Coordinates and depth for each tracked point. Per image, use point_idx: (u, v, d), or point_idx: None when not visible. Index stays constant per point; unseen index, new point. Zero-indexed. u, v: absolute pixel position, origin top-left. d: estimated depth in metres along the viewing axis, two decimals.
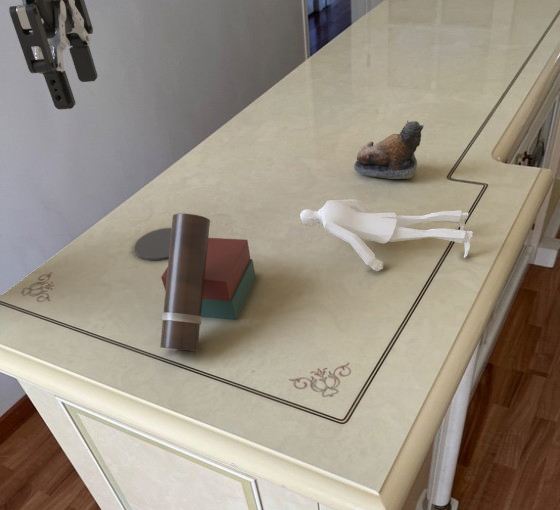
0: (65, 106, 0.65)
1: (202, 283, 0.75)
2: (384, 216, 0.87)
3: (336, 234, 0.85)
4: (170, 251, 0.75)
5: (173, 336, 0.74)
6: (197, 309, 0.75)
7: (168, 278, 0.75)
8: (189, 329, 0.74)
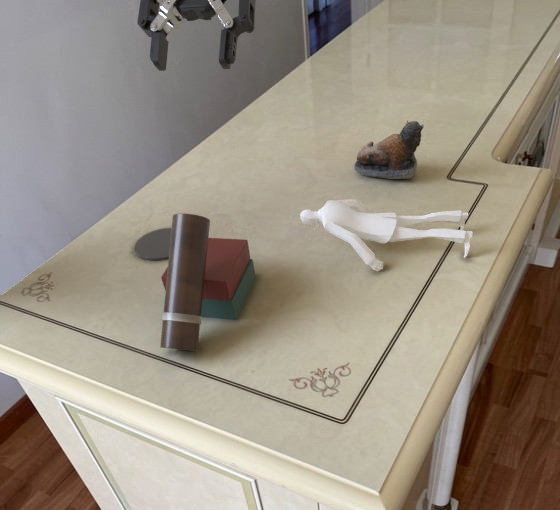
0: (227, 64, 0.70)
1: (202, 283, 0.75)
2: (384, 216, 0.87)
3: (336, 234, 0.85)
4: (170, 251, 0.75)
5: (173, 336, 0.74)
6: (197, 309, 0.75)
7: (168, 278, 0.75)
8: (189, 329, 0.74)
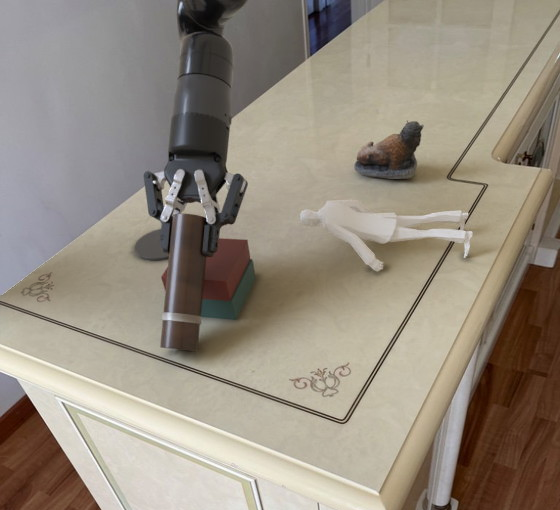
0: (210, 254, 0.75)
1: (202, 283, 0.75)
2: (384, 216, 0.87)
3: (336, 234, 0.85)
4: (170, 251, 0.75)
5: (173, 336, 0.74)
6: (197, 309, 0.75)
7: (168, 278, 0.75)
8: (189, 329, 0.74)
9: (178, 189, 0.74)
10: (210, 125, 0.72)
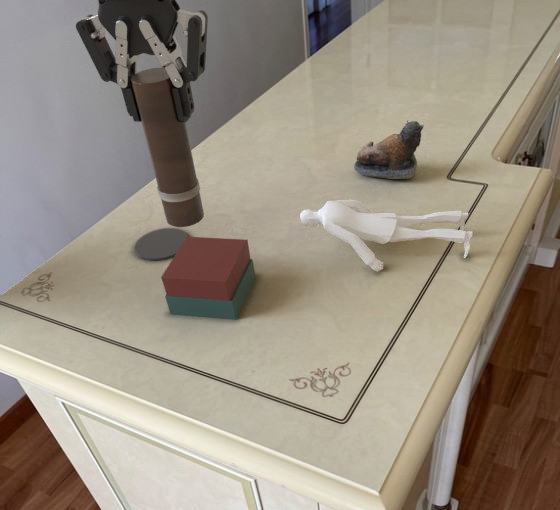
0: (188, 116, 0.65)
1: (189, 150, 0.68)
2: (384, 216, 0.87)
3: (336, 234, 0.85)
4: (143, 125, 0.65)
5: (177, 216, 0.72)
6: (192, 181, 0.70)
7: (151, 156, 0.68)
8: (190, 205, 0.71)
9: (126, 47, 0.60)
10: None
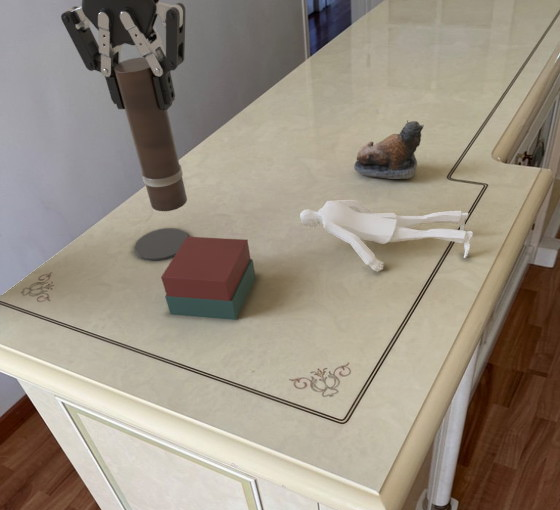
0: (169, 104, 0.68)
1: (171, 137, 0.71)
2: (384, 216, 0.87)
3: (336, 234, 0.85)
4: (126, 113, 0.68)
5: (161, 200, 0.75)
6: (174, 167, 0.73)
7: (135, 142, 0.71)
8: (173, 190, 0.75)
9: (108, 38, 0.63)
10: None
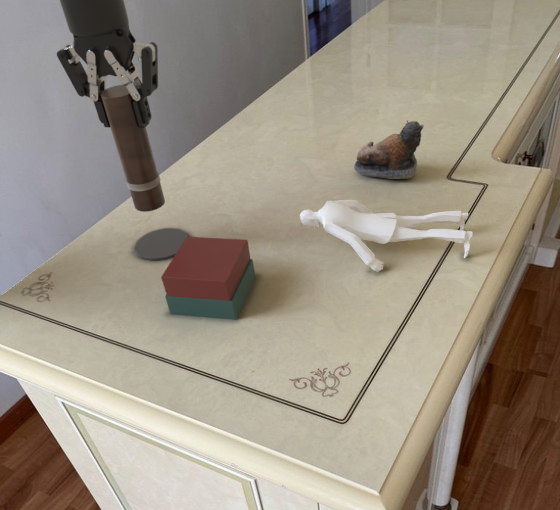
0: (147, 123, 0.83)
1: (149, 150, 0.85)
2: (384, 216, 0.87)
3: (336, 235, 0.85)
4: (111, 130, 0.83)
5: (142, 202, 0.89)
6: (153, 174, 0.87)
7: (119, 154, 0.85)
8: (152, 193, 0.89)
9: (95, 70, 0.77)
10: (100, 5, 0.70)
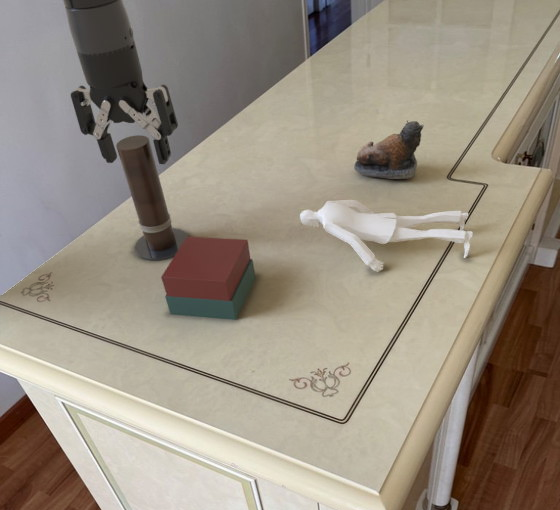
0: (166, 159, 0.86)
1: (161, 195, 0.90)
2: (384, 216, 0.87)
3: (336, 235, 0.85)
4: (126, 178, 0.88)
5: (154, 242, 0.94)
6: (165, 217, 0.92)
7: (133, 199, 0.90)
8: (164, 234, 0.94)
9: (106, 117, 0.81)
10: (116, 60, 0.74)
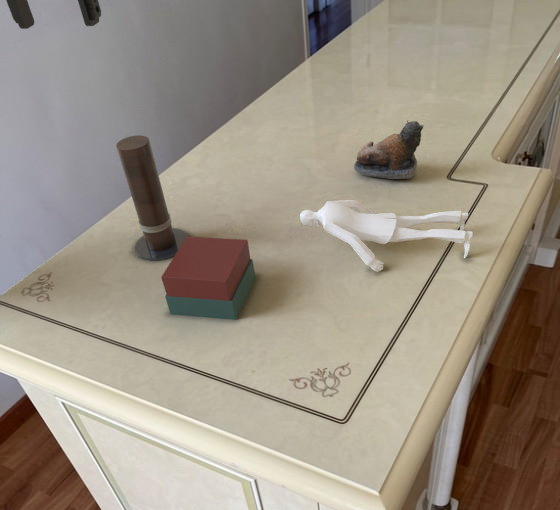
0: (95, 21, 0.66)
1: (161, 195, 0.90)
2: (384, 217, 0.87)
3: (336, 235, 0.85)
4: (126, 178, 0.88)
5: (154, 242, 0.94)
6: (165, 217, 0.92)
7: (133, 199, 0.90)
8: (164, 234, 0.94)
9: None
10: None
